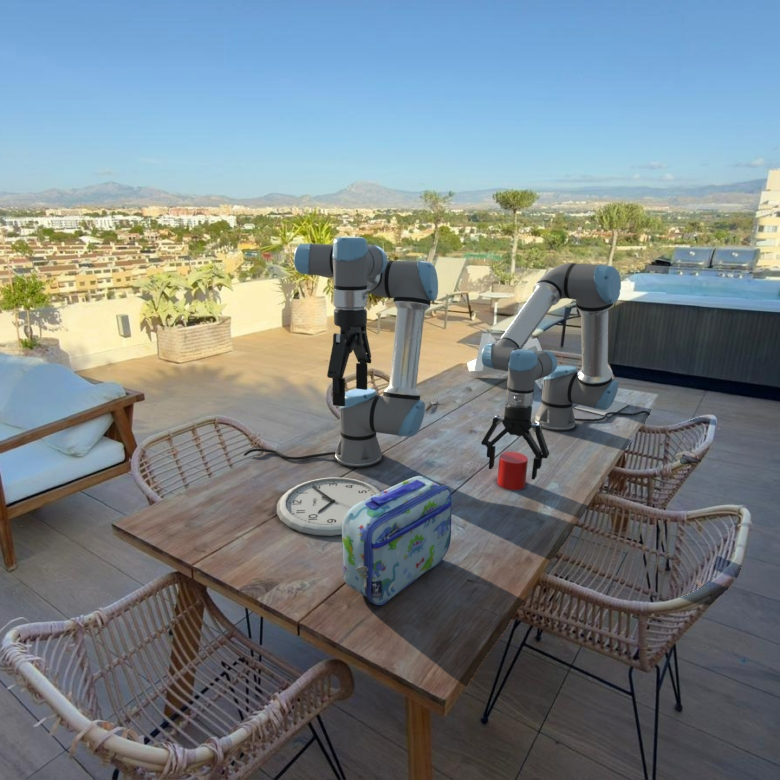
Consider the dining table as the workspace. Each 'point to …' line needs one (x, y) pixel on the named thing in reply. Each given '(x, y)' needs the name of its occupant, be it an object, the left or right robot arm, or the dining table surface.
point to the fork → (432, 403)
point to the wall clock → (322, 504)
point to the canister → (512, 470)
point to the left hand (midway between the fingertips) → (350, 396)
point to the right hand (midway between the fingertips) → (512, 472)
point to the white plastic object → (480, 370)
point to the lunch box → (395, 537)
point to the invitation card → (613, 408)
